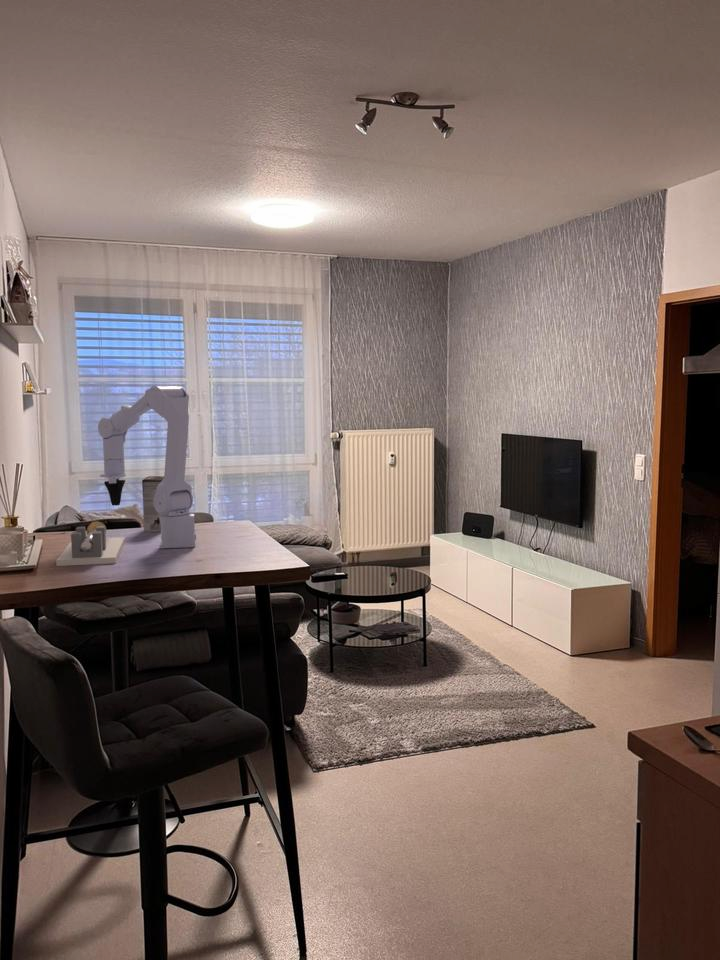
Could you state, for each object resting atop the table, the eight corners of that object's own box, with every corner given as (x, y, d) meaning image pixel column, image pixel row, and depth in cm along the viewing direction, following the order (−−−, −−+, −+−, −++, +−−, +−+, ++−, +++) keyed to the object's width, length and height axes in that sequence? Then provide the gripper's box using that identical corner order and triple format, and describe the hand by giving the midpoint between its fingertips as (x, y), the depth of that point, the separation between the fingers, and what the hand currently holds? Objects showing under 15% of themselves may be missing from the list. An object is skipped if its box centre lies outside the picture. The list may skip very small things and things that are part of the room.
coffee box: (150, 526, 246) (148, 476, 244) (170, 526, 246) (168, 475, 244) (143, 531, 237) (141, 479, 235) (164, 531, 237) (162, 479, 235)
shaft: (106, 538, 215) (105, 521, 215) (96, 556, 193) (95, 536, 192) (87, 539, 214) (86, 521, 214) (75, 557, 192) (74, 537, 191)
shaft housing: (124, 542, 220) (123, 516, 219) (115, 563, 194) (114, 533, 193) (72, 544, 217) (71, 518, 216) (56, 566, 191) (55, 536, 190)
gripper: (102, 457, 233) (104, 501, 234) (96, 461, 219) (98, 509, 220) (126, 456, 234) (128, 501, 236) (122, 461, 220) (124, 508, 222)
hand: (115, 505), depth 228 cm, fingers closed
